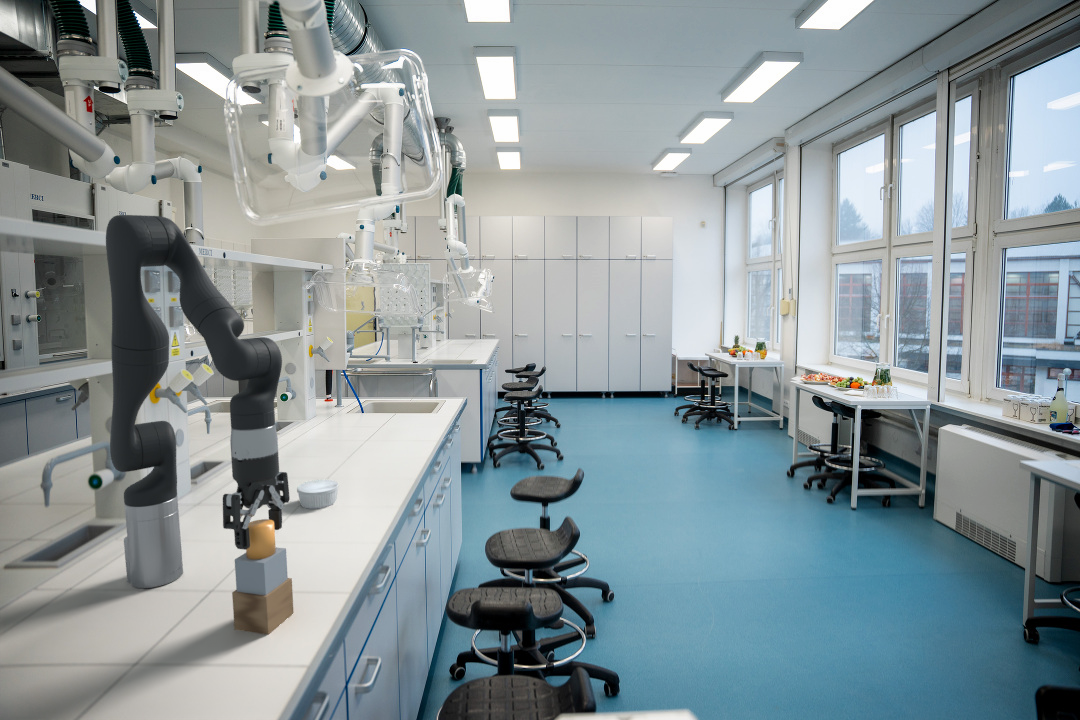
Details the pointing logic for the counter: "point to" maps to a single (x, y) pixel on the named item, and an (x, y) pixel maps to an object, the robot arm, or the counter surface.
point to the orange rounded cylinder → (261, 539)
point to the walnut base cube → (263, 609)
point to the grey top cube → (261, 573)
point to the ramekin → (318, 493)
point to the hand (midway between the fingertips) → (260, 538)
